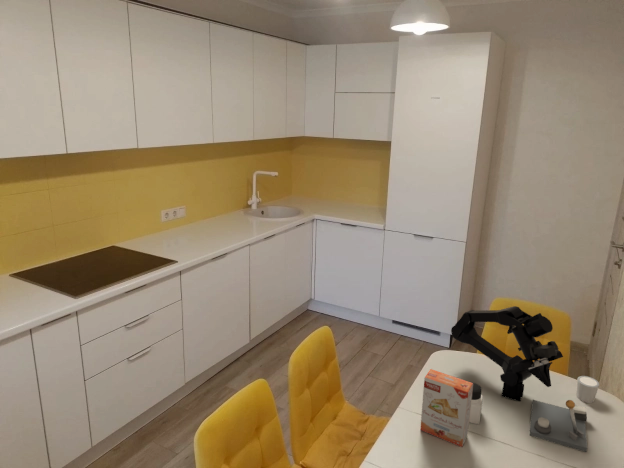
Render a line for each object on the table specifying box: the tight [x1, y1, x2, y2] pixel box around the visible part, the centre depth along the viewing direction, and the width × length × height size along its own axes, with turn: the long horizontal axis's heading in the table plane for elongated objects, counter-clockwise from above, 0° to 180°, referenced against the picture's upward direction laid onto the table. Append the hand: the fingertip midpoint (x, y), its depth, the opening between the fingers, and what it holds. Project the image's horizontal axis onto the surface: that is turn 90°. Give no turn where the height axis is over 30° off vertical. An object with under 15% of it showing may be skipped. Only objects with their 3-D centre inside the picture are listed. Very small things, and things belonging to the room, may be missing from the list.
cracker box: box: [420, 368, 474, 448], centre depth 145 cm, size 14×6×21 cm, turn 56°
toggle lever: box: [565, 399, 578, 433], centre depth 144 cm, size 3×3×10 cm
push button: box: [538, 418, 549, 428], centre depth 147 cm, size 3×3×1 cm
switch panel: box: [529, 399, 588, 453], centre depth 150 cm, size 16×18×3 cm
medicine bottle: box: [469, 381, 484, 425], centre depth 154 cm, size 7×7×12 cm
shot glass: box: [575, 375, 600, 403], centre depth 164 cm, size 7×7×7 cm
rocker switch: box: [573, 405, 587, 414], centre depth 152 cm, size 4×2×1 cm, turn 62°
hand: (549, 386), depth 151 cm, fingers closed
